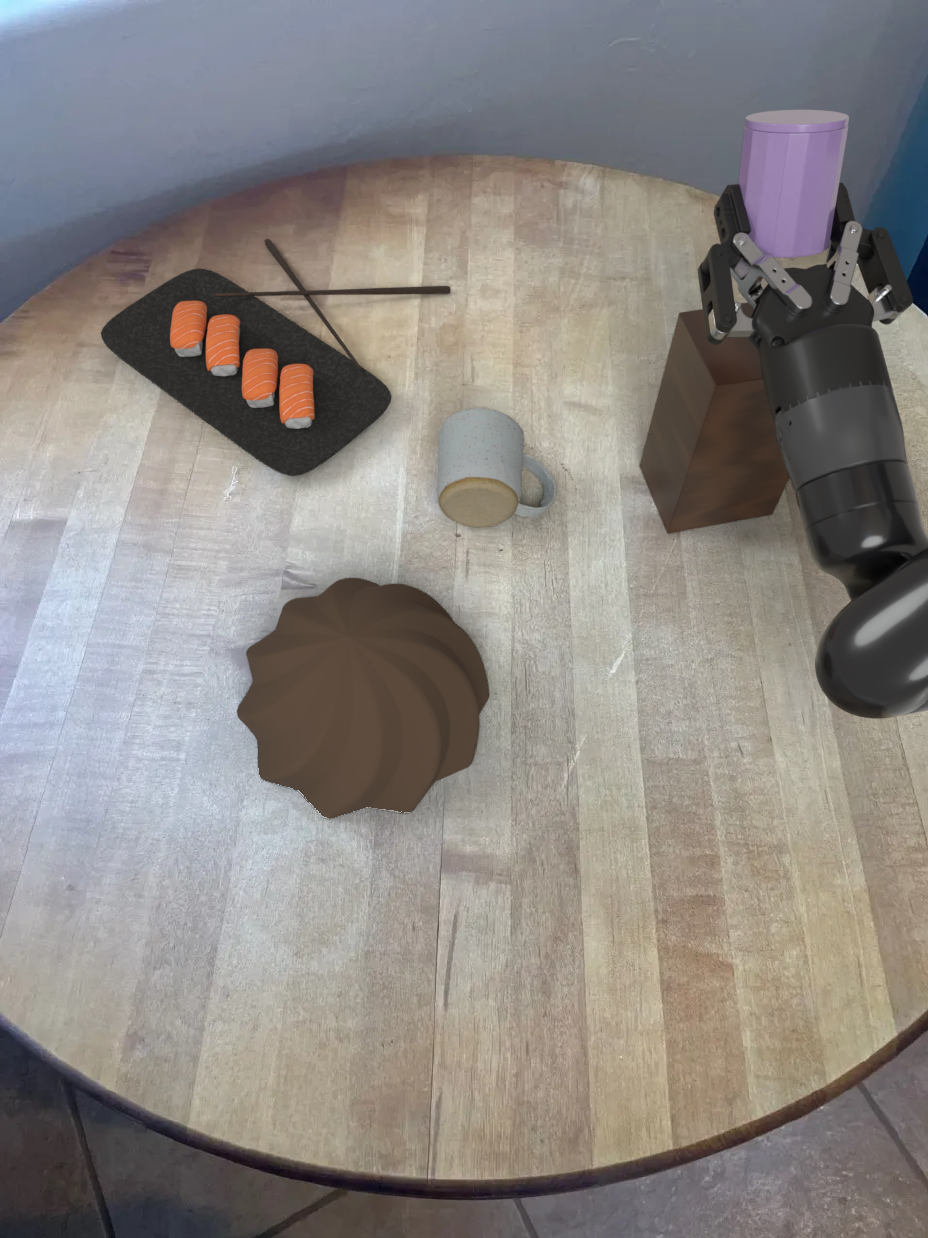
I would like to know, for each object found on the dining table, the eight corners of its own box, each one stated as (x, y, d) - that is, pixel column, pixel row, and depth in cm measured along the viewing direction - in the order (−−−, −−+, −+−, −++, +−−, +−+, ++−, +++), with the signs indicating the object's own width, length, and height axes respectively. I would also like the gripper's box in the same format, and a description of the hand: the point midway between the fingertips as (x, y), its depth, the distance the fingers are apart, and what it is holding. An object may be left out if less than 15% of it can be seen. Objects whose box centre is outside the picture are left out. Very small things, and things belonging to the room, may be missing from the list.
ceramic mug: (435, 532, 85) (436, 476, 78) (438, 461, 89) (439, 402, 82) (555, 536, 85) (566, 480, 78) (552, 465, 89) (562, 406, 83)
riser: (740, 448, 90) (799, 293, 75) (772, 515, 86) (843, 365, 71) (638, 465, 89) (678, 311, 74) (667, 534, 85) (715, 386, 70)
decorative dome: (199, 784, 72) (166, 727, 64) (293, 573, 82) (276, 500, 74) (447, 852, 70) (447, 803, 61) (512, 627, 80) (520, 557, 71)
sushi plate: (93, 347, 96) (80, 316, 93) (308, 205, 108) (303, 174, 105) (296, 498, 87) (290, 470, 83) (507, 324, 99) (509, 294, 95)
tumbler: (868, 119, 60) (845, 252, 65) (818, 106, 65) (800, 230, 70) (772, 127, 59) (755, 261, 64) (729, 113, 64) (717, 238, 69)
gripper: (968, 376, 60) (902, 140, 63) (753, 404, 59) (694, 159, 61) (903, 422, 68) (846, 209, 71) (709, 448, 66) (659, 228, 69)
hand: (776, 187), depth 66 cm, fingers closed on tumbler, 6 cm apart
